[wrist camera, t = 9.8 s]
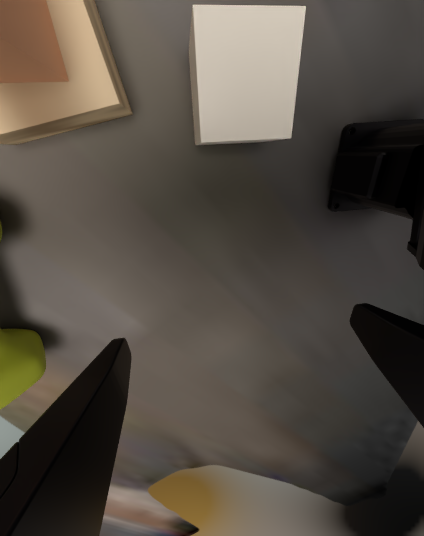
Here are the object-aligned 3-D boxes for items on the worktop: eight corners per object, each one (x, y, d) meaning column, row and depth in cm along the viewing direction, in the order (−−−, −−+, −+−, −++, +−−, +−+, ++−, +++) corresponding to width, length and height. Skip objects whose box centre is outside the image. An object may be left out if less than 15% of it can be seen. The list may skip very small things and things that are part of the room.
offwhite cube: (266, 52, 14) (305, 6, 9) (261, 142, 16) (291, 138, 12) (188, 52, 13) (192, 4, 9) (195, 145, 16) (201, 142, 11)
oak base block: (69, -75, 11) (17, -185, 7) (133, 115, 15) (119, 103, 11) (-86, -36, 11) (-215, -127, 7) (19, 145, 15) (-31, 142, 11)
